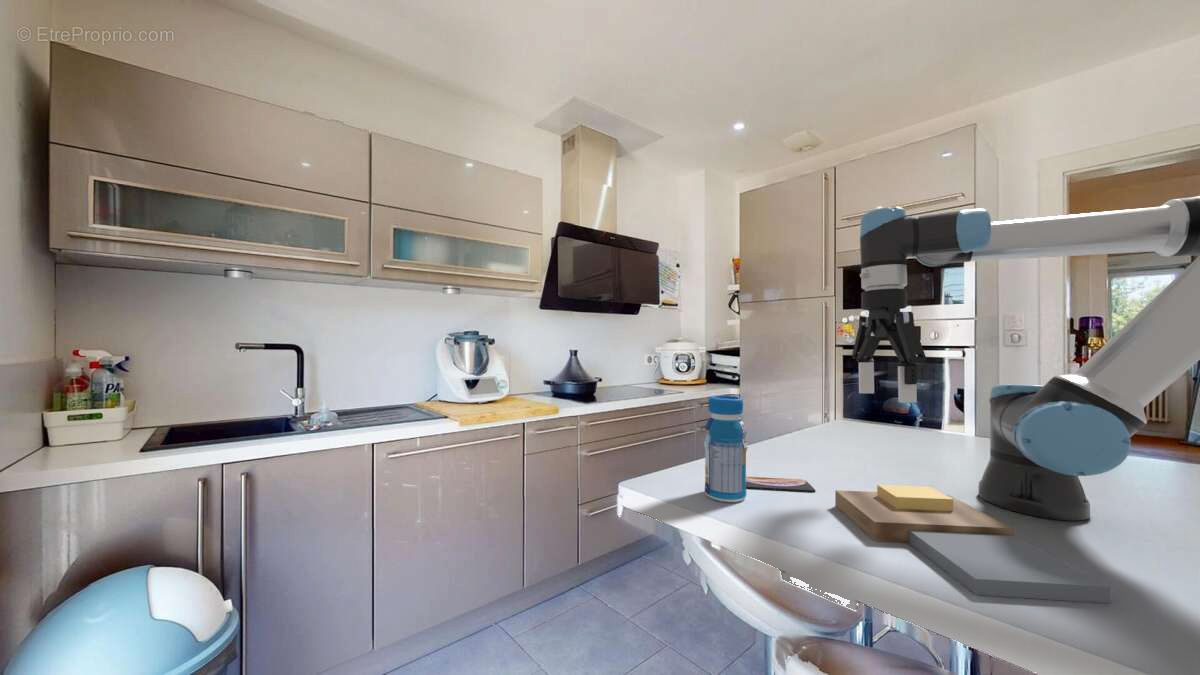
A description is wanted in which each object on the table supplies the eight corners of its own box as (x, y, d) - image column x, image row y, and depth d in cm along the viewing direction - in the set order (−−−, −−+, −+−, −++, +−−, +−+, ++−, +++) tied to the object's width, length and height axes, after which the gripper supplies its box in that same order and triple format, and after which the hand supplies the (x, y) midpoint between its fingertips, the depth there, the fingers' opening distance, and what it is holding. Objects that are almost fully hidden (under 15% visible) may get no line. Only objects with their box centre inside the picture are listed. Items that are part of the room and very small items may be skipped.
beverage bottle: (721, 506, 81) (722, 401, 81) (695, 491, 89) (695, 395, 89) (756, 500, 84) (756, 399, 84) (728, 486, 92) (728, 393, 92)
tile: (929, 497, 78) (929, 486, 78) (953, 511, 72) (953, 499, 72) (877, 495, 79) (877, 484, 79) (896, 508, 73) (896, 496, 73)
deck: (948, 510, 79) (948, 494, 79) (1013, 547, 65) (1013, 528, 65) (835, 506, 81) (835, 490, 81) (874, 540, 67) (874, 521, 67)
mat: (1014, 548, 65) (1014, 535, 65) (1109, 603, 52) (1109, 586, 52) (909, 543, 67) (909, 530, 67) (975, 594, 53) (975, 578, 53)
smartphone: (736, 475, 98) (805, 479, 96) (736, 479, 98) (805, 483, 96) (742, 486, 91) (817, 490, 88) (741, 490, 91) (817, 494, 88)
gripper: (834, 296, 96) (835, 390, 96) (903, 281, 72) (905, 407, 71) (868, 295, 96) (870, 390, 96) (950, 280, 71) (953, 407, 71)
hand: (885, 397), depth 84 cm, fingers open, 13 cm apart
